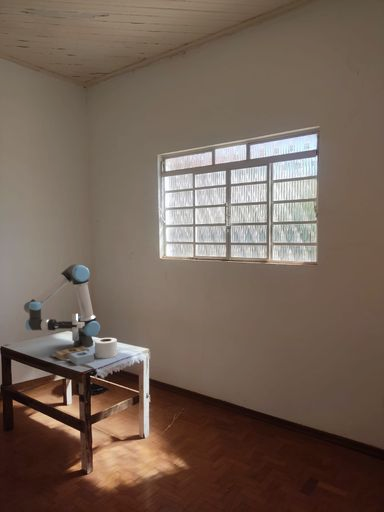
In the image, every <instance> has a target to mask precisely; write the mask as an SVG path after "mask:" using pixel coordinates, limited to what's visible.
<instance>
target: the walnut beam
mask: <svg viewBox="0 0 384 512" xmlns="http://www.w3.org/2000/svg"><path fill="white" fill-rule="evenodd" d="M85 350H87V351H89V352H90V349H89V347H84V346H81V347H76V348H75V347H70V348H67V349H62V350H61V349H60V350H56V351H55V358H56V359H58V360H60V361H65V360H70V354H71V353H76V352H81V351H85Z"/></svg>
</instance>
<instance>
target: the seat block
mask: <svg viewBox="0 0 384 512" xmlns="http://www.w3.org/2000/svg"><path fill="white" fill-rule="evenodd" d="M69 362H71V363H72V364H74V365H76V366H81V365H85V364H89V363H93V362H95V353H92V352H90V350H89V351H87V350H85V351H81V352H76V353H71V354H70V359H69Z"/></svg>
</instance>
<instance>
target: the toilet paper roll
mask: <svg viewBox="0 0 384 512" xmlns="http://www.w3.org/2000/svg"><path fill="white" fill-rule="evenodd" d="M117 355H118V339H117V338H116V337H103V338H101V337H100V338H98V339H97V338H96V339H95V340H94V358H98V359H110V358H113V357H116V356H117Z"/></svg>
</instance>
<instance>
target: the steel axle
mask: <svg viewBox="0 0 384 512" xmlns="http://www.w3.org/2000/svg"><path fill="white" fill-rule="evenodd" d="M78 317H79V313H72V314H71V321H72V324H78ZM71 331H72V334H71V335H72V336H71V337H72V338H71V340H72V342H74V341H77V340H78V328H72V329H71Z"/></svg>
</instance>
